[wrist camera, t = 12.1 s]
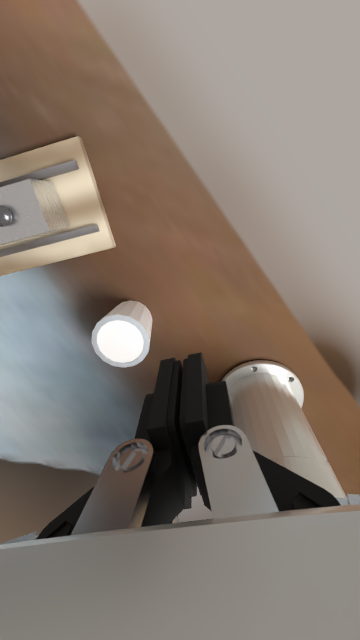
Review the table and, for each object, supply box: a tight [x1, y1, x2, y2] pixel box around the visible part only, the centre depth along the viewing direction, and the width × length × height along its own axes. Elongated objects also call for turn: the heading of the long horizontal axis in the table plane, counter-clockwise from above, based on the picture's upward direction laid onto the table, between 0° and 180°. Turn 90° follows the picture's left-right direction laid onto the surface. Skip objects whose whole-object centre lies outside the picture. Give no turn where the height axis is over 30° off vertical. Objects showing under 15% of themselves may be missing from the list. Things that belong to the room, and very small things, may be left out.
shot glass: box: [92, 300, 152, 368], centre depth 37 cm, size 7×7×7 cm
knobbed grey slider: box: [0, 179, 69, 245], centre depth 31 cm, size 7×8×6 cm
